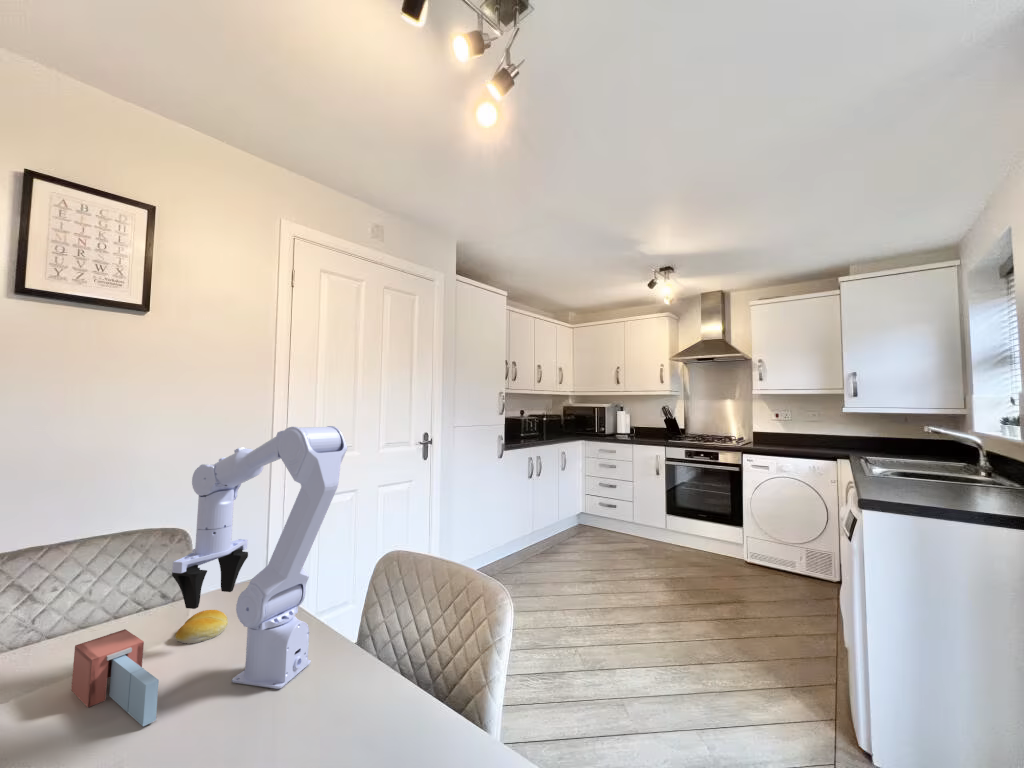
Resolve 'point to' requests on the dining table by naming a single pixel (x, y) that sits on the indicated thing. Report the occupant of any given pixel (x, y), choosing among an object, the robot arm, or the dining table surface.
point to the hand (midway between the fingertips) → (210, 599)
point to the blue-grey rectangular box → (134, 689)
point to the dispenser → (101, 663)
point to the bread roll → (202, 626)
